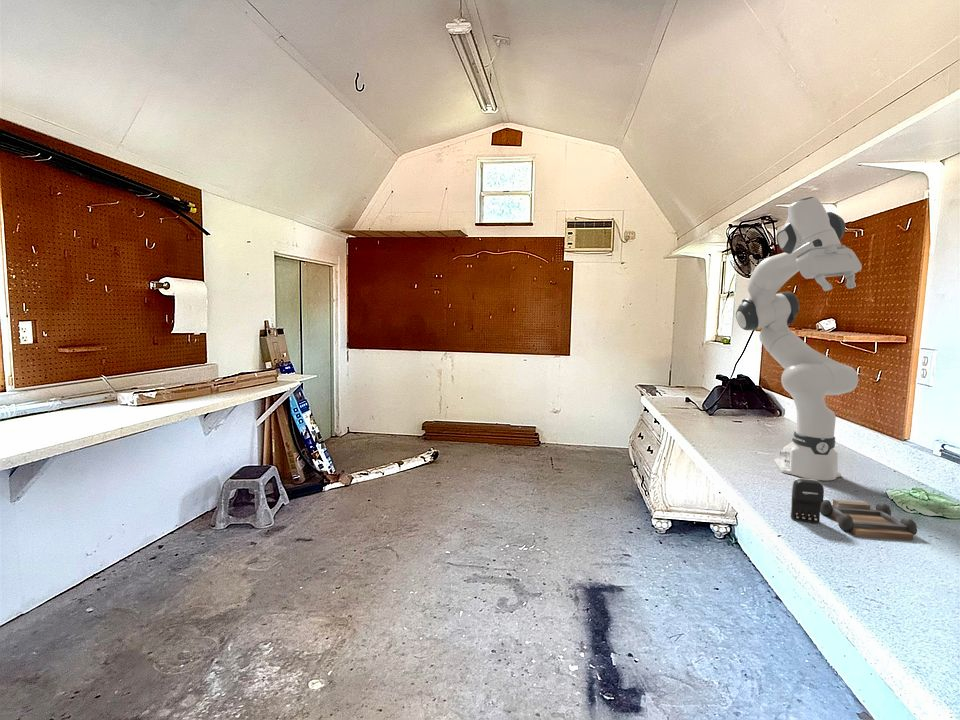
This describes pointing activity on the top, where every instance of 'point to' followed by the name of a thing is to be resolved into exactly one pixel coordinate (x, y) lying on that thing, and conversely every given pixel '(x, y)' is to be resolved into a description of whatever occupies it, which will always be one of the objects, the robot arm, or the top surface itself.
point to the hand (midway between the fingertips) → (840, 288)
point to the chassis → (868, 519)
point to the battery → (806, 500)
